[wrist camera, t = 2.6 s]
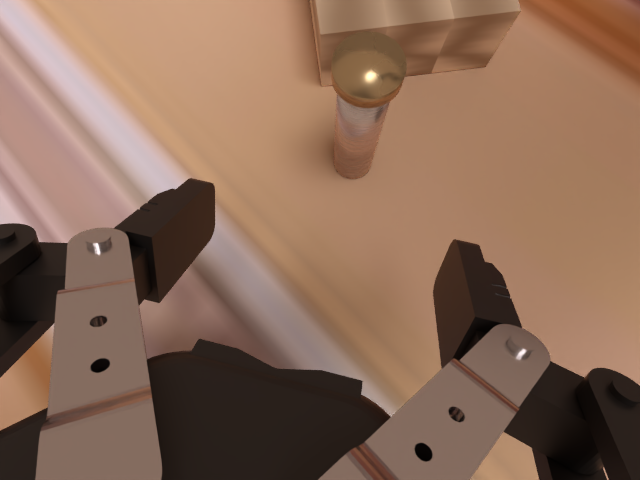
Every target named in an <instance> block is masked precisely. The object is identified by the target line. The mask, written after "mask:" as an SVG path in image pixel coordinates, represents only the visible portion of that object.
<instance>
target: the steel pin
mask: <svg viewBox="0 0 640 480" xmlns="http://www.w3.org/2000/svg"><path fill="white" fill-rule="evenodd" d="M406 69H407V61H406V56H405V54H404V51H403V50H402V48H401V47H400V45H399V44H398V43H397V42H396V41H395V40H393V39H392V38H391V37H389V36H387V35H385V34H382V33H379V32H372V31H365V32H359V33H355V34H353V35H350V36H348V37H347V38H345V39H344V40H343V41H342V42H341V43H340V44H339V45H338V46H337V47H336V49H335V51H334V53H333V56H332V63H331V80H332V84H333V87H334V89H335V91H336V93H337V104H336V124H335V143H334V166H335V169H336V171H337V172H338V173H339V174H340V175H341V176H343V177H345V178H348V179H357V178H360V177H362V176H364V175H365V174H366V173H367V172H368V171H369V169H370V167H371V164H372V160H373V157H374V153H375V150H376V147H377V143H378V140H379V137H380V133H381V130H382V126H383V123H384V120H385V116H386V113H387V110H388V106H389V103H390V101H391V100H392V99H393V98H394V97H395V96H396V95H397V94H398V92H399V90H400V88H401V86H402V83H403V80H404V77H405V74H406Z"/></svg>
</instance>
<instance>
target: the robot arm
mask: <svg viewBox="0 0 640 480" xmlns="http://www.w3.org/2000/svg"><path fill="white" fill-rule="evenodd" d="M214 228H215V187H214V184H213V183H210V182H205V181H201V180H197V179H192V178H190V179H188V180H187V181H185V182H184V183H183V184H182V185H181V186H179V187H178V188H177V189H176V190H175V189H170V190H167V191H164V192H162V193H159V194H157V195H156V196H154V197H153V198H152V199H151V200H149V201H148V203H146V204H144V205H143V206H142V207H140V210H139V209H138V210H137V211H135V212H134V213H133V214H131V215H130V216H129V217H128V218H126V219H125V220H124V221H122V222H121V223H120V224H119V225H117V226H116V227H115V228H114V229H113V228H95V229H90V230H86V231H83V232H81V233H79V234H77V235H75V236H74V237H73V238H71V240H70V241H69V242H68V243H46V242H39V241H38V238H37V235H36V231H35V230H34V229H33V228H32V227H30V226H28V225H24V224H1V225H0V377H1V376H2V375H3V374H4V373H5V372H6V371H7V370H8V369H9V368H10V367H11V366H12V365H13V364H14V363H15V362H16V361H17V360H18V359H19V358H20V357H21V356H22V355H23V354H24V353H25V352H26V351H27V350H28V349H29V348H30V347H31V346H32V345H33V344H34V343H35V342H36V341H37V340H38V339H39V338H40V337H41V336H42V335H43V334H44V333H45V332H46V331H47V330H48V329H49V328H50V327H51V326H52V325H53V324H54V336H53V349H52V362H51V375H50V388H49V400H48V408H46V409H44V410H42V411H40V412H38V413H36V414H34V415H31V416H29V417H27V418H25V419H23V420H21V421H19V422H17V423H15V424H13V425H11V426H9V427H7V428H5V429H3V430H1V431H0V480H470V478H471V477H472V475H473V474H474V473H475V471H476V470H477V468H478V467H479V465H480V464H481V463H482V461H483V460H484V458H485V457H486V455H487V454H488V453H489V451H490V450H491V448H492V447H493V446H494V444H495V443H496V441H497V440H498V438H499V437H500V436H501V434H502V433H503V432H505V433H507V434H509V435H510V436H512V437H514V438H516V439H517V440H519V441H521V442H523V443H525V444H526V445H528V446H530V447H532V451H533V455H534V459H535V463H536V467H537V472H538V476H539V480H607V478H606V476H605V473H604V471H603V467H604V468H605V470H606V473H607V475H608V478H609V480H640V386H639V385H638V384H637V383H635V382H634V381H633V380H631V379H630V378H628V377H626V376H624V375H623V374H621V373H618V372H616V371H613V370H610V369H606V368H595V369H593V370H591V371H590V372H589V373H588V374H587V376H586V377H585V378H584V377H582V376H580V375H578V374H576V373H573V372H571V371H569V370H567V369H565V368H563V367H561V366H559V365H557V364H555V363H553V362H551V361H550V355H549V352H548V350H547V348H546V347H545V346H544V344H543V343H542V342H541V341H540V340H539V339H538V338H537V337H535V336H534V335H533V334H531V333H530V332H528V331H526V330H524V329H522V326H521V323H520V321H519V318H518V315H517V313H516V310H515V307H514V305H513V302H512V299H510V294H509V291H508V289H506V287H507V286H506V284H505V281H504V278H503V276H502V274H501V273H500V272H499V271H498V270H497V269H496V268H495V266H494V265H493V264H492V263H487V262H485V261H484V258H483V255H482V252H481V249H480V246H479V245H477V244H473V243H469V242H464V241H460V240H456V239H455V240H453V241H452V243H451V245H450V247H449V249H448V251H447V254H446V256H445V258H444V261H443V263H442V265H441V268H440V270H439V272H438V275H437V277H436V280H435V284H434V290H433V297H434V305H435V314H436V323H437V332H438V340H439V349H440V358H441V366H442V369H441V370H440V371H439V372H438V373H437V374H436V375H435V376H434V377H433V378H432V379H431V380H430V381H429V382H428V383H427V384H426V385H425V386H423V387H422V388H421V389H420V390H419V391H418V392H417V393H416V394H415V395H414V396H413V397H412V398H411V399H410V400H409V401H408V402H407V403H405V404H404V405H403V406H402V407H401V408H400V409H399V410H398V411H397V412H396V413H395V414H394V415H393V416H392V417H390V416H389V415H388V414H387V413H386V412H385V411H384V410H383V409H382V408H381V407H379V406H378V405H377V404H376V403H374V402H373V401H371V400H370V399H368V398H366V397H365V396H363V395H361V391H362V381H361V380H357V379H353V378H349V377H345V376H341V375H337V374H334V373H330V372H326V371H322V370H294V369H277V368H274V367H272V366H270V365H268V364H266V363H264V362H262V361H260V360H258V359H256V358H255V357H253V356H251V355H249V354H247V353H245V352H243V351H241V350H239V349H237V348H233V347H229V346H225V345H221V344H217V343H214V342H210V341H206V340H202V339H199V340H198V341H197V343H196V345H195V346H194V348H193V349H192V351H179V352H172V353H166V354H162V355H158V356H155V357H152V358H149V359H147V355H146V348H145V342H144V335H143V329H142V322H141V316H140V309H139V305H140V304H141V303H142V301H143V300H144V299H145V300H149V301H153V302H157V303H160V302H161V300H162V299H163V298H164V297H165V295H166V294H167V293H168V292H169V291H170V289H171V288H172V287H173V286H174V284H175V283H176V282H177V281H178V279H179V278H180V277H181V276H182V274H183V273H184V272H185V271H186V269H187V268H188V267H189V266H190V264H191V263H192V262H193V261H194V260H195V258H196V257H197V256H198V255H199V253H200V252H201V251H202V250H203V248H204V247H205V246H206V245H207V243H208V242H209V241H210V239H211V237H212V235H213V232H214Z"/></svg>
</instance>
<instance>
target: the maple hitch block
mask: <svg viewBox="0 0 640 480" xmlns="http://www.w3.org/2000/svg"><path fill="white" fill-rule="evenodd" d="M309 2H310V9H311V16H312V23H313V30H314V38H315V45H316V52H317V59H318V66H319V73H320V80H321V86H329V85H333V84H332V80H331V63H332V56H333V53H334V51H335V49H336V47H337V46H338V45H339V44H340V43H341V42H342V41H343V40H344V39H345V38H347V37H348V36H350V35H353V34H355V33H359V32H365V31H372V32H379V33H382V34H385V35H387V36H389V37H391V38H392V39H393V40H395V41H396V42H397V43H398V44H399V45H400V47H401V48H402V50H403V51H404V54H405V56H406V61H407V69H406V74H405V76H412V75H420V74H429V73H437V72H445V71H453V70H462V69H470V68H478V67H486V65H487V64H488V62H489V60H490V59H491V57H492V56H493V54H494V53H495V51H496V49H497V48H498V46H499V45H500V43H501V41H502V40H503V38H504V37H505V35H506V34H507V32H508V30H509V29H510V27H511V26H512V24H513V23H514V21H515V19H516V18H517V16H518V15H519V13H520V12H521V9H520V5H519V1H518V0H309Z"/></svg>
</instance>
